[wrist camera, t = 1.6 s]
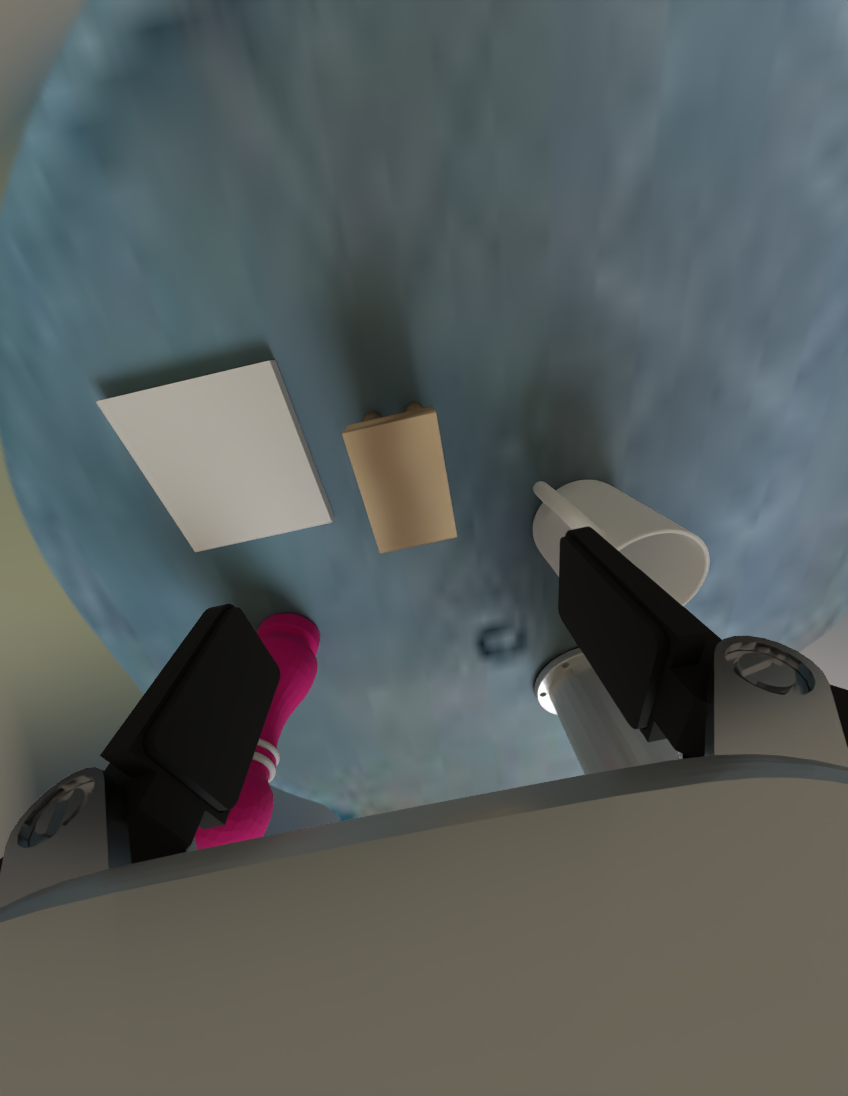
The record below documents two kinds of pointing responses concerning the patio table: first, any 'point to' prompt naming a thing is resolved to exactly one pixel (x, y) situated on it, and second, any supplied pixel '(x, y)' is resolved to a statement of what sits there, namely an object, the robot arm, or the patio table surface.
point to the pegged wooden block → (402, 477)
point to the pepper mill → (270, 727)
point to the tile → (224, 455)
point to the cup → (622, 533)
